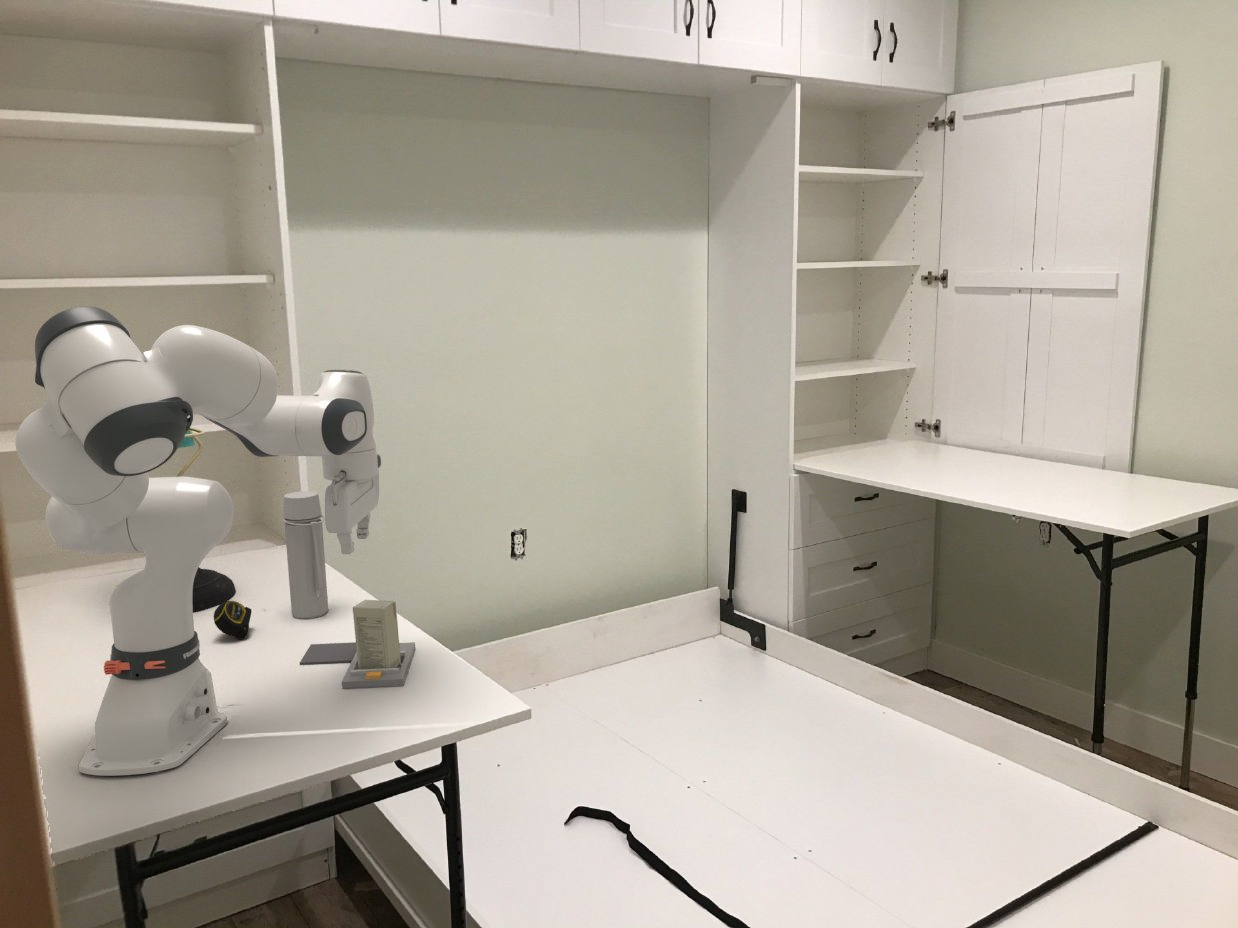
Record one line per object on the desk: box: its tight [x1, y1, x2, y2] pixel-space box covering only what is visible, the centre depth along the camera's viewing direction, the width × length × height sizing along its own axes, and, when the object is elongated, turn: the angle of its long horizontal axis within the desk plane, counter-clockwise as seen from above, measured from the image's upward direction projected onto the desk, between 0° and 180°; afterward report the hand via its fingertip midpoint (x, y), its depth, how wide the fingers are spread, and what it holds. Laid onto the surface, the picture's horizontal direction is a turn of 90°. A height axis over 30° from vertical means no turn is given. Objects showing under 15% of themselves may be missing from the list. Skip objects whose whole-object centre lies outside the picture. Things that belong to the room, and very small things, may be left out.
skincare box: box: [352, 599, 402, 670], centre depth 169 cm, size 6×4×12 cm
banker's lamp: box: [175, 426, 237, 614], centre depth 206 cm, size 26×23×40 cm
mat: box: [299, 641, 357, 666], centre depth 178 cm, size 9×9×1 cm
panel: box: [341, 641, 416, 690], centre depth 171 cm, size 17×10×2 cm, turn 5°
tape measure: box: [213, 600, 252, 640], centre depth 187 cm, size 7×7×4 cm
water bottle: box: [282, 490, 329, 620], centre depth 196 cm, size 9×8×25 cm
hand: (355, 545), depth 167 cm, fingers open, 8 cm apart
